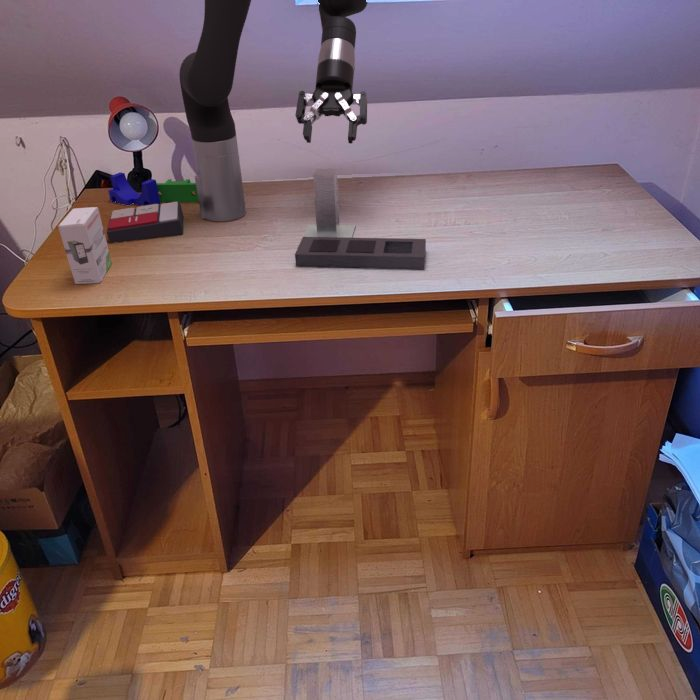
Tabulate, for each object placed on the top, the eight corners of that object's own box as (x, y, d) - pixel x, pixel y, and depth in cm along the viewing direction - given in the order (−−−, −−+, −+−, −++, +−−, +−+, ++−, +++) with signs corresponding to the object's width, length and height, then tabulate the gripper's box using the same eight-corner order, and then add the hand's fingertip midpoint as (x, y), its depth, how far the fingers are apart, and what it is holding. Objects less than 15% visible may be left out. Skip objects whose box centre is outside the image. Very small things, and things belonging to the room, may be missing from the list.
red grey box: (110, 209, 146) (179, 198, 147) (115, 227, 148) (183, 216, 150) (104, 228, 137) (178, 216, 138) (111, 247, 139) (183, 235, 141)
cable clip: (111, 202, 159) (105, 178, 156) (125, 196, 162) (120, 172, 159) (146, 211, 153) (141, 186, 150) (160, 204, 156) (155, 179, 153)
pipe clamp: (205, 197, 160) (202, 178, 157) (201, 203, 156) (198, 184, 154) (159, 197, 160) (156, 178, 158) (154, 203, 157) (150, 184, 155)
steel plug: (317, 238, 136) (313, 175, 129) (320, 230, 139) (316, 168, 132) (336, 238, 135) (333, 175, 128) (339, 230, 138) (336, 168, 131)
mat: (299, 246, 134) (299, 244, 133) (308, 226, 142) (308, 224, 142) (349, 247, 132) (349, 245, 132) (355, 227, 141) (355, 225, 140)
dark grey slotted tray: (295, 266, 126) (294, 253, 125) (303, 248, 133) (302, 236, 131) (424, 269, 123) (424, 256, 122) (425, 250, 130) (425, 238, 128)
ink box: (87, 264, 130) (71, 206, 124) (113, 263, 130) (98, 205, 124) (74, 285, 123) (56, 225, 117) (101, 283, 123) (84, 223, 117)
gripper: (298, 57, 134) (290, 131, 131) (368, 57, 132) (362, 131, 129) (305, 79, 141) (297, 150, 138) (372, 79, 140) (366, 151, 136)
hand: (329, 141), depth 134 cm, fingers open, 8 cm apart
